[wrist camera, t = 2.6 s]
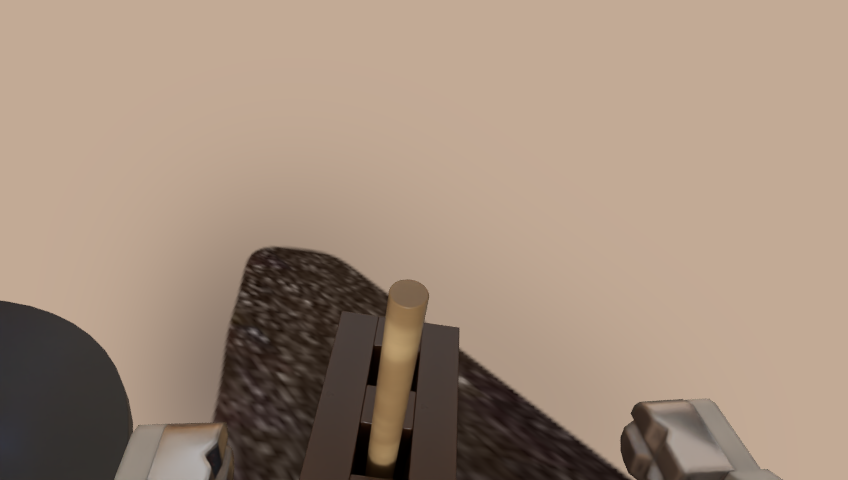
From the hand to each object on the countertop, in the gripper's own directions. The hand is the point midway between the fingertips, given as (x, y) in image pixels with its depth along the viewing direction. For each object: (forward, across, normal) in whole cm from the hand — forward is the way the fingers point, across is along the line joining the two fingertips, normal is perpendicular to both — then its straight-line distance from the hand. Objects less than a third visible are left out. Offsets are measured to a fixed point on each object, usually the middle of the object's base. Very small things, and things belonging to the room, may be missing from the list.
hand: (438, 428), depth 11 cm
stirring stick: (+12, 0, +24) cm, 27 cm away
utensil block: (+14, 0, +24) cm, 28 cm away
